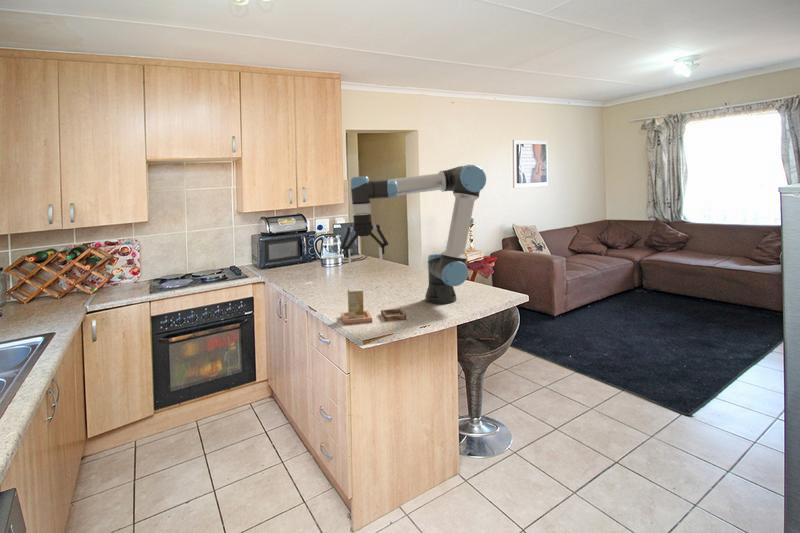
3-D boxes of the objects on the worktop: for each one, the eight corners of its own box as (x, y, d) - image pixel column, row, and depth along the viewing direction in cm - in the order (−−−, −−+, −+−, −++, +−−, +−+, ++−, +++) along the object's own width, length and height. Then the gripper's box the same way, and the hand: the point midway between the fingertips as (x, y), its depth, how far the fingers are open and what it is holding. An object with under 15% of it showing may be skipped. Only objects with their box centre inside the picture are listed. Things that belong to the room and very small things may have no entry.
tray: (368, 314, 192) (368, 310, 191) (372, 322, 180) (372, 317, 180) (341, 317, 189) (340, 312, 189) (343, 325, 178) (343, 320, 177)
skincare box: (349, 320, 182) (348, 291, 180) (348, 317, 186) (346, 289, 184) (364, 318, 183) (363, 290, 181) (363, 315, 188) (361, 288, 185)
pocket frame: (400, 312, 193) (400, 308, 193) (406, 319, 183) (406, 315, 182) (381, 314, 191) (380, 310, 191) (385, 321, 181) (385, 317, 180)
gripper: (389, 211, 188) (392, 259, 192) (331, 215, 183) (335, 265, 187) (392, 212, 181) (396, 262, 185) (333, 216, 176) (337, 268, 180)
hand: (365, 263), depth 186 cm, fingers open, 13 cm apart
